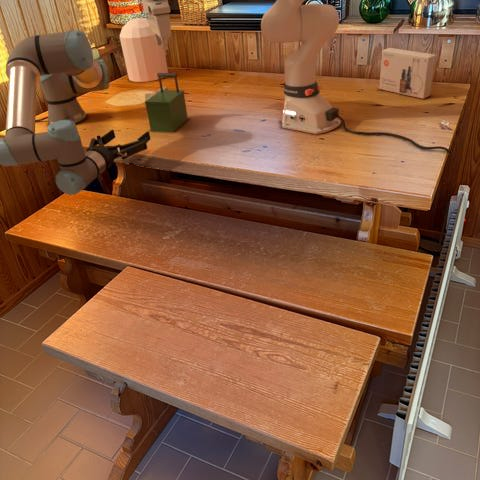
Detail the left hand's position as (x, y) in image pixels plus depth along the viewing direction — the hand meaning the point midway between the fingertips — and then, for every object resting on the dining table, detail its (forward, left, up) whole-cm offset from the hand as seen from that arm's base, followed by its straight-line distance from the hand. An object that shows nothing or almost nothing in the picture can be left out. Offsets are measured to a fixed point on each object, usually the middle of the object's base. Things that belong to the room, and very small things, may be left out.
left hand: (131, 134), depth 156 cm
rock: (-19, +54, -7) cm, 58 cm away
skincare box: (+85, +72, -7) cm, 112 cm away
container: (-43, +92, -7) cm, 102 cm away
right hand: (0, +32, +20) cm, 38 cm away
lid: (0, +28, +3) cm, 28 cm away
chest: (0, +27, -7) cm, 28 cm away
